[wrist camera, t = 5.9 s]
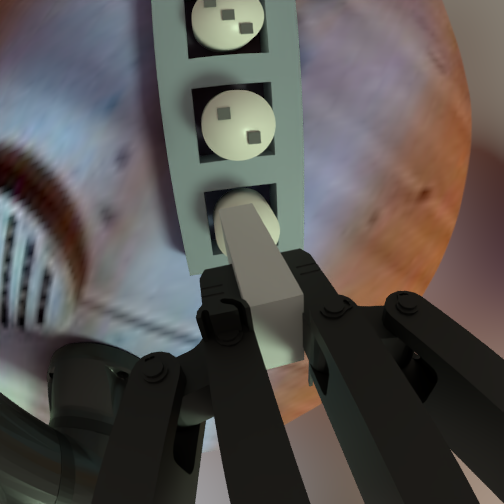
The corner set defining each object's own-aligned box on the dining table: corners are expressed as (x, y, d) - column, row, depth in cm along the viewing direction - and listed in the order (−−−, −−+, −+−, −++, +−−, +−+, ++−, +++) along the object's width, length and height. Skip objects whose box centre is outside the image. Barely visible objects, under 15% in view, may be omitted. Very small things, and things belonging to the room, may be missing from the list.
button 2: (204, 153, 19) (206, 165, 17) (198, 93, 17) (198, 94, 14) (265, 146, 20) (277, 157, 17) (262, 88, 18) (274, 87, 15)
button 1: (216, 243, 23) (220, 267, 20) (209, 192, 21) (211, 210, 18) (270, 235, 24) (281, 258, 21) (267, 184, 21) (279, 201, 19)
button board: (190, 259, 25) (190, 275, 23) (155, -11, 14) (150, -22, 12) (294, 243, 26) (303, 258, 24) (282, -20, 15) (291, -30, 13)
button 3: (194, 56, 17) (193, 49, 14) (190, 3, 14) (189, -12, 12) (256, 51, 17) (267, 44, 14) (252, -1, 15) (262, -15, 12)
